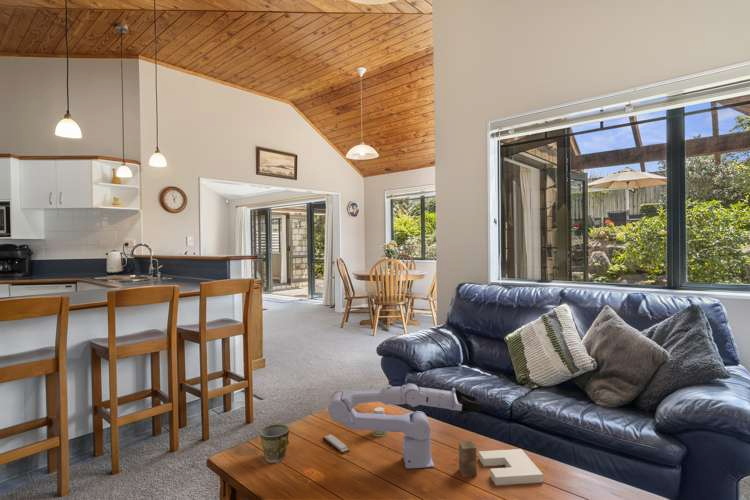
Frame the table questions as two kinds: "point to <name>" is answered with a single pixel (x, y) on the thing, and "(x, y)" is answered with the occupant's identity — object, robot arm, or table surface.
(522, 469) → the socket block
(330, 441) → the harmonica
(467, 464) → the peg
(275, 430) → the ceramic cup
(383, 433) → the supplement bottle
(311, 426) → the table surface
